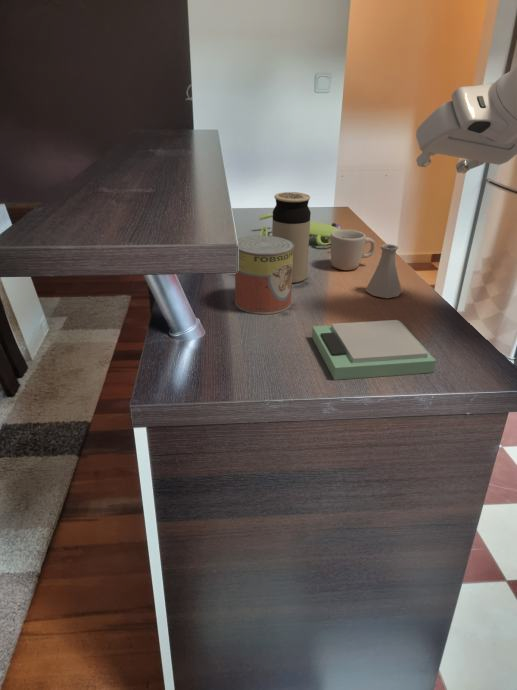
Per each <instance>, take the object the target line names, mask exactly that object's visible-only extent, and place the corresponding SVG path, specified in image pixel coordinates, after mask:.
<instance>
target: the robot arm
mask: <svg viewBox="0 0 517 690" xmlns="http://www.w3.org/2000/svg"><path fill="white" fill-rule="evenodd" d="M450 97H451V100H450V101H446V102H444V103H443V104H441V105H440V106H438V107H437V108H436V109H435V110H434V111H432V113H430V114H429V115H428V117H426V119H424V121H422V122H421V123H420V125H419V126H418V127H417V128H416V132H415V138H416V142H417V145H418V148H419V150H420V151H421V153H420V155H418V156H417V158H416V161H415V162H416V164H417V166H418V167H419V168H420V167H421V168H428V166H429V165H430V164H431V163H432V159H431V157H435V155H436V154H437V155H443V156H448V157H453V158H459V159H461V160H460V161H459V162H458V163H456V165H455V169H456V172H457V173H458V174H463V175H464V174H466V173H467V172H468V171H471V170H472V169H474V168H477V167H481V166H483V165H484V164H485V163H487V164H493V165H497V166H500V165H503V164H506V163H508V162H509V161H511V160H512V159H513V158H514V157H515V156H517V64H516V65H515V66H514V67H512V69H511V70H510V71H508V72H506V73H504V74H502V75H501V76H500V77H498V79H497V80H495V82H488V83H484V84H478V85H468V86H467V85H466V86H459V87H458V88H456V89H455V90H454V91H453V92H452V94H451V96H450Z"/></svg>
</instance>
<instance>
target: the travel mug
mask: <svg viewBox="0 0 517 690" xmlns="http://www.w3.org/2000/svg"><path fill="white" fill-rule="evenodd" d="M273 197H274V199H275V206H274V208H273V210H272V213H273V217H272V225H271V226H272V227H271V228H272V229H271V231H272V232H271V236H275V237H281V238H285V239H287V240H290V241H291V242H293V244H294V248H293V267H292V284H295V283H301V282H303V281H305V280H306V279H307V278H308V265H309V264H308V262H309V246H310V237H309V231H310V221H311V213H312V212H311V210H310V207H309V201H310V199H311V196H310V195H309V194H307V193H303V192H298V191H297V192H296V191H287V192H286V191H285V192H284V191H283V192H279V193H276V194H275V195H274V196H273Z"/></svg>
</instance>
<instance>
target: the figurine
mask: <svg viewBox="0 0 517 690" xmlns="http://www.w3.org/2000/svg"><path fill="white" fill-rule="evenodd" d="M270 218H273V212H271V213H267V214H264V215H260V216H259V221H263V220H266V219H270ZM336 230H342V225H340V224H338V223H335V222H332V223H331V224H328V223H323V222H316V221H311V220H310V231H309V238H312V237H315V242H316V244H317V245H318V246H319V247H325V246H328V245H331V233H332V232H333V231H336ZM264 233H265V234H264ZM268 233H269V231H268V227H267V226H262V228H261V229H260V232H259V236H269V235H268ZM326 239H327V241H326V242H324V241H325V240H326ZM322 241H323V242H322Z"/></svg>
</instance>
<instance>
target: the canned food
mask: <svg viewBox="0 0 517 690" xmlns="http://www.w3.org/2000/svg"><path fill="white" fill-rule="evenodd" d="M238 245H239V271H238V273H236V274H235V273H234V290H235V291H234V293H235V294H234V295H235V297H234V298H235V299H234V304H235V306H236V308H238V309H239V310H241V311H243V312H246V313H249V314H254V315H273V314H279V313H282V312H284V311H287V310H288V309H290V307H291V306H292V285H293V283H292V267H293V248H294V244H293V242H291V241H290V240H287V239H285V238H281V237H275V236H272V235H268V236H265V235H263V236H260V235H252V236H246V237H242V238H239V239H238Z"/></svg>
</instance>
